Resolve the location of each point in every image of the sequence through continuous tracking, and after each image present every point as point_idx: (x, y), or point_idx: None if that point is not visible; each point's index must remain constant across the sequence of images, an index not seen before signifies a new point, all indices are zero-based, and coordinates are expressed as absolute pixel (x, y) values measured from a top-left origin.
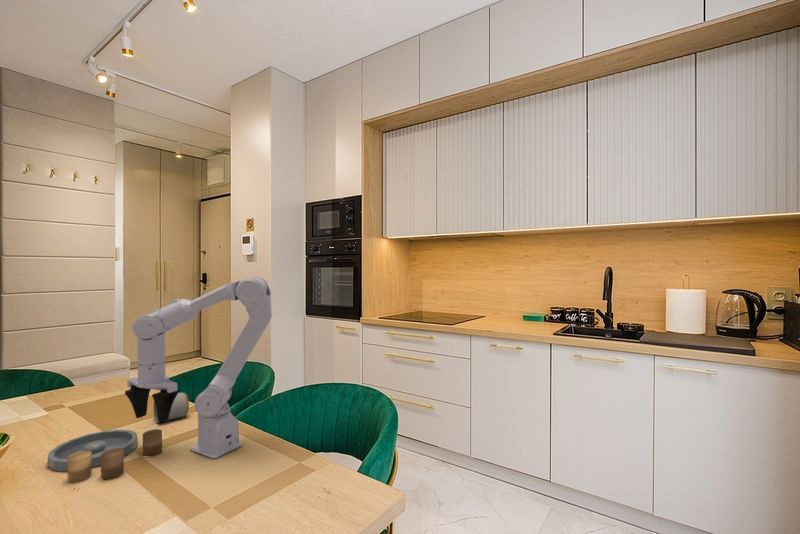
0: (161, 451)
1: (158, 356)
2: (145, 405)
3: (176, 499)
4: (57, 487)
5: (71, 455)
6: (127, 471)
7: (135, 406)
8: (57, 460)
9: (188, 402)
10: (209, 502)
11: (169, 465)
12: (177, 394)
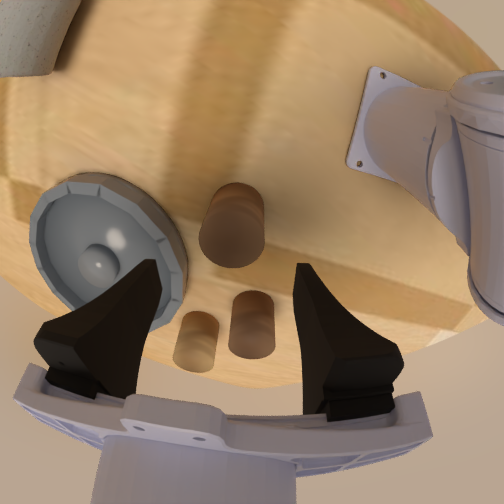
0: (260, 196)
1: None
2: (136, 290)
3: (428, 313)
4: None
5: (181, 364)
6: (270, 289)
7: (146, 337)
8: None
9: None
10: (468, 301)
11: (348, 244)
12: (11, 5)
